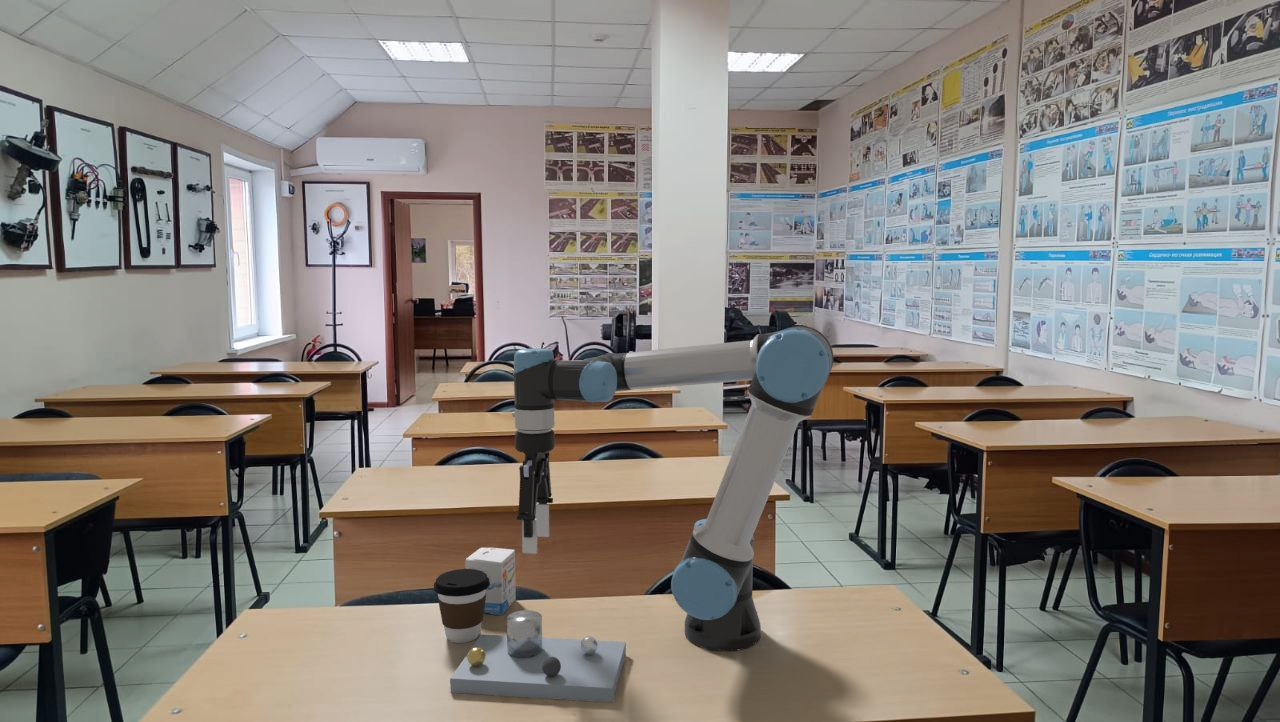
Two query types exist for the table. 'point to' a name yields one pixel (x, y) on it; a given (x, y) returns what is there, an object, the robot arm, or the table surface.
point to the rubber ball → (551, 666)
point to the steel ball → (589, 645)
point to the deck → (527, 678)
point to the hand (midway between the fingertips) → (536, 544)
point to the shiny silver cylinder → (524, 633)
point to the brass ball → (476, 656)
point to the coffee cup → (462, 603)
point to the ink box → (496, 576)
